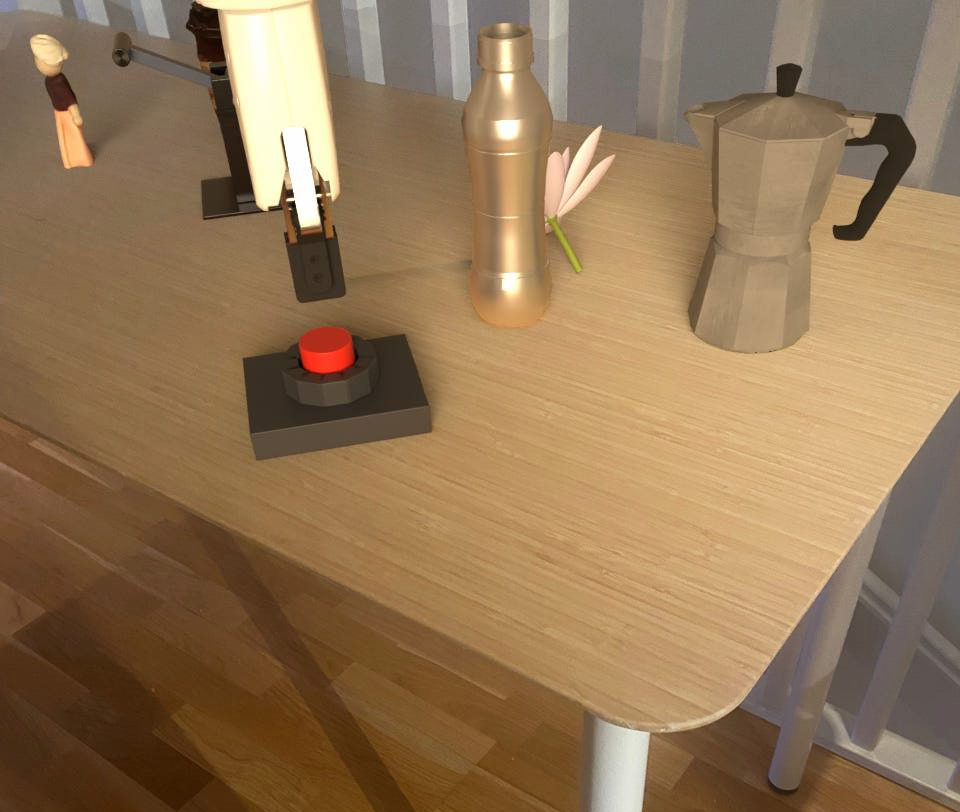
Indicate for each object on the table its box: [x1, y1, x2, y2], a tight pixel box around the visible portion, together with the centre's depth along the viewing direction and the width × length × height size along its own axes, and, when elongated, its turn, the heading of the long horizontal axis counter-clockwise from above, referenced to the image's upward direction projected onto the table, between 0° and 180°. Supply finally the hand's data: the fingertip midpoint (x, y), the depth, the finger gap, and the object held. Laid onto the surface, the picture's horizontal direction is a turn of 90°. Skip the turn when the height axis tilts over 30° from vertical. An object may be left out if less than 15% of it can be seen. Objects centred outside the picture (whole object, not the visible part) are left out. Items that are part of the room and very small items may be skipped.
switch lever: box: [111, 31, 229, 89], centre depth 87 cm, size 12×5×2 cm, turn 102°
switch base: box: [242, 333, 433, 462], centre depth 69 cm, size 12×10×4 cm
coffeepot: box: [681, 62, 918, 354], centre depth 69 cm, size 15×9×18 cm, turn 67°
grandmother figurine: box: [29, 33, 94, 170], centre depth 99 cm, size 8×4×13 cm, turn 43°
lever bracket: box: [200, 61, 283, 221], centre depth 91 cm, size 11×9×12 cm
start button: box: [298, 326, 355, 375], centre depth 67 cm, size 4×4×2 cm
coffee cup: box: [185, 0, 226, 133], centre depth 103 cm, size 9×8×13 cm
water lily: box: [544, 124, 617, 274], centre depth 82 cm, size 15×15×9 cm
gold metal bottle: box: [460, 22, 554, 328], centre depth 71 cm, size 6×7×20 cm
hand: (321, 294), depth 64 cm, fingers closed
